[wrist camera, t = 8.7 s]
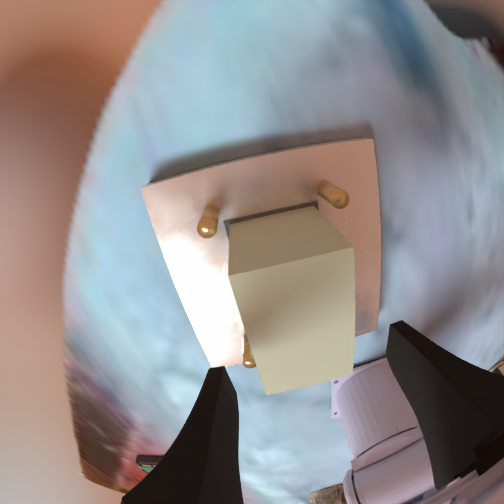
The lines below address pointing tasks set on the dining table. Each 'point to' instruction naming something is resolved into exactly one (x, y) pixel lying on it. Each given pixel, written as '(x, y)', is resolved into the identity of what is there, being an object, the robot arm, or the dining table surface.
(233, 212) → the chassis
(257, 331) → the block
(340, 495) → the ceramic cottage
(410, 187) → the dining table surface
